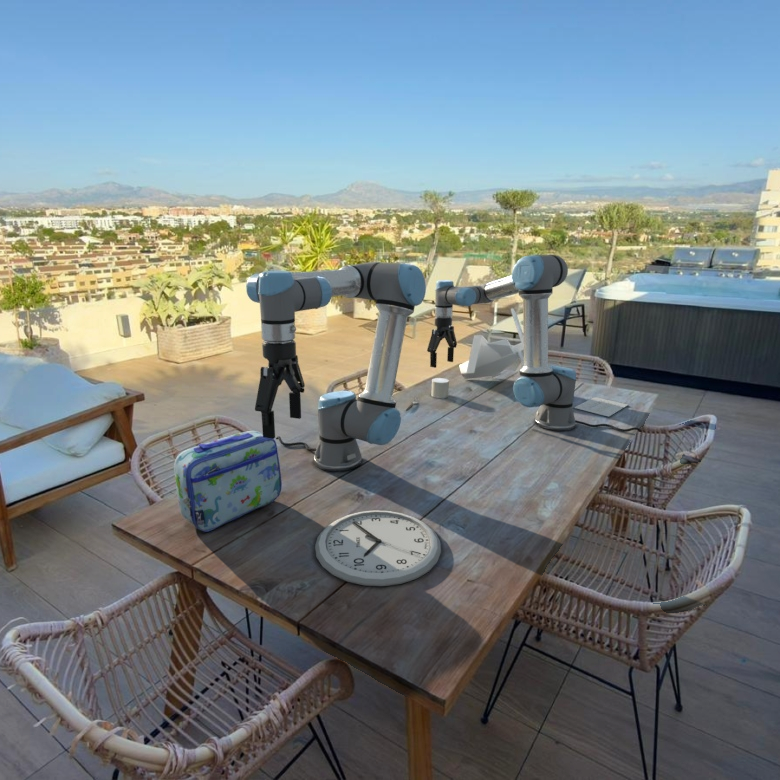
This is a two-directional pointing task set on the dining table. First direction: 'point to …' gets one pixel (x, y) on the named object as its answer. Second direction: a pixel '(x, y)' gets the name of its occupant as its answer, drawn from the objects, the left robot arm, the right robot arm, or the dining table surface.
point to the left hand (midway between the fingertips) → (283, 427)
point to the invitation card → (601, 406)
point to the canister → (440, 388)
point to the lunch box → (227, 478)
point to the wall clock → (378, 548)
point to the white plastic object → (492, 355)
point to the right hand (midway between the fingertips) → (441, 364)
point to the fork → (413, 403)
